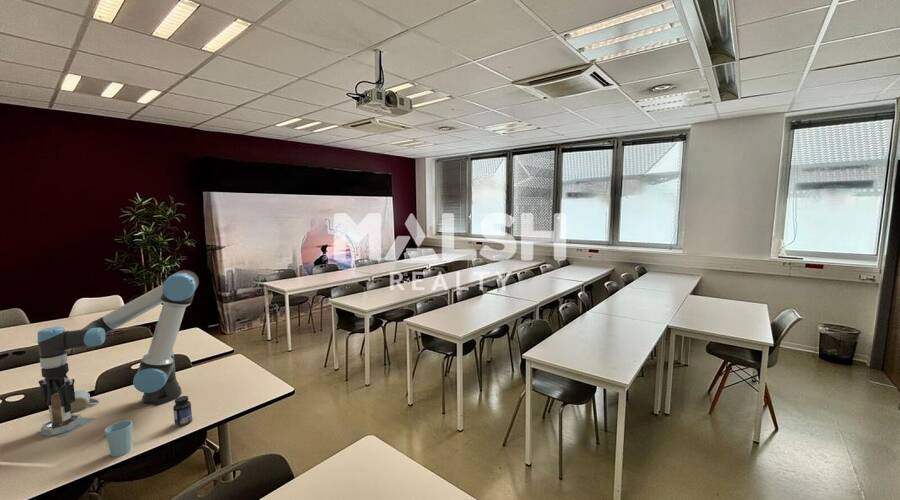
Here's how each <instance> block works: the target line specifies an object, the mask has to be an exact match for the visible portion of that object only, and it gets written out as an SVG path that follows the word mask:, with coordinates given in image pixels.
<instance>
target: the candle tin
mask: <svg viewBox="0 0 900 500" xmlns="http://www.w3.org/2000/svg"><path fill="white" fill-rule="evenodd" d="M81 417H82V414H78V413H77V414H75V413H73V414H71V418H69V421H67V422H65V423H53V421H51V420H49V421H47V422H44V423H43V424H42V426H41V427H40V432H41V434H43V435H44V436H53V435H58V434H62V433H65V432H68V431H70V430H72V429H74V428H76V427H78V426H79V425H80V424H81Z"/></svg>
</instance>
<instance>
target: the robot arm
mask: <svg viewBox="0 0 900 500" xmlns="http://www.w3.org/2000/svg"><path fill="white" fill-rule="evenodd" d="M199 284H200V280H199V277H198V275H197V274H196V273H195V272H193V271H191V270H187V269H184V270H183V269H181V270H179V271H177V272H175V273H173V274H171V275H170V276H168V277H167V278H166V279H165V280H163V281H162V282H161V285H158V286H157V287H155V288H153V289H151V290H149V291H148V292H146V293H144V294H142V295H140V296H138V297H136V298H135V299H133V300H130V301H129V302H127V303H125V304H123V305H122V306H120V307H118V308H116V309H114V310H112V311H111V312H109V313H106V314H105V315H103V316H101V317H100V318H97V319H94V320H93V321H91V322H90V323H89V324H88V325H86V326H84V327H82V328H81V329H76V330H74V329H73V330H65V328H64V326H51V327H45V328H43V329H40V330H39V331H37V345H38V354H39V362H40V363H39V364H40V368H41V369H40V372H41V377H42V378H43V379H40V380H39V381H38V385H39V387H40V394H41V400H42V404H43V405H44V404H46V405H47V406H48V412H49V418H50V421H53V414H52V406H51V399H50V396H51V395H53V394H55V393H59V396H60V399H61V402H62V405H61V415H62V421H65V420H67V419H69V418H71V413H72V412H70V411H71V405H70V404H71V403H72V402H74V401H75V381H76V380H75V379H74V378H72V379H70V378H69V377H68V375H67V374H68V372H69V371H70V369H69V363H68V361H69V360H68V354H67V351H68V350H73V349H81V348H93V347H96V346H101V345H103V344H104V343H105V341H106V338H107V337H106V335H108V334H109V333H111V332H112V331H114V330H117V329H118V328H120V327H122V326H124V325H126V324H127V323H129V322H130V321H132V320H134V319H136V318H138V317H140V316H141V315H143V314H145V313H147V312H149V311H151V310H152V309H155V307H158V306H160V305H161V304H162V308H161V311H160V314H159V317H158V321H157V322H156V326H155V329H154V332H153V336H152V339H151V343H150V346H149V349H148V352H147V353H145V354H144V355H143V357H142V358H141V361H140V363H139V366H138V370H137V372H136V374H135V375H134V376H133V381H132V383H133V388H135V389H136V390H137V391H139V392H141V393H143V395H142V396H141V400H142V401H141V402H142V404H143V405H154V406H156V405H162V404H165V403H167V402H171V401H174V400H175V399H176V398H178V397H181V396H182V393H183V392H182V387H181V386H180V383H179V382H178V380H177V376H176V364H175V354H174V353H175V352H174V346H175V344H176V341H177V337H178V334H179V330H180V328H181V324H182V321H183V318H184V314H185V311H186V308H187V307H188V306H190V305H191V304H192V302H193V299H194V296H195V292H196V290H197V288H198V287H199Z"/></svg>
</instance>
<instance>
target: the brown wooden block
mask: <svg viewBox="0 0 900 500" xmlns="http://www.w3.org/2000/svg"><path fill="white" fill-rule="evenodd" d="M50 399H51V406H52V414H53V423H65V422H67V421H69V419H67V420H65V421H62V415H61V405H62V402H61V399H60V396H59V393H58V392H57V393H55V394H53V395H51V396H50Z"/></svg>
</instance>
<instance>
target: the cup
mask: <svg viewBox="0 0 900 500" xmlns="http://www.w3.org/2000/svg"><path fill="white" fill-rule="evenodd" d="M132 431H133V421H132V420H122V421H117V422H115V423H113V424H110V425H108V426H107V427H106V428H104V433H105V438H106V441H107V444H108V447H109V451H110V452H109V453H110V456H111V457H113V458H117V457H118V458H119V457H122V456H125V455H126V454H128V453H130V451H131V450H132V436H133V435H132V433H133V432H132Z"/></svg>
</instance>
